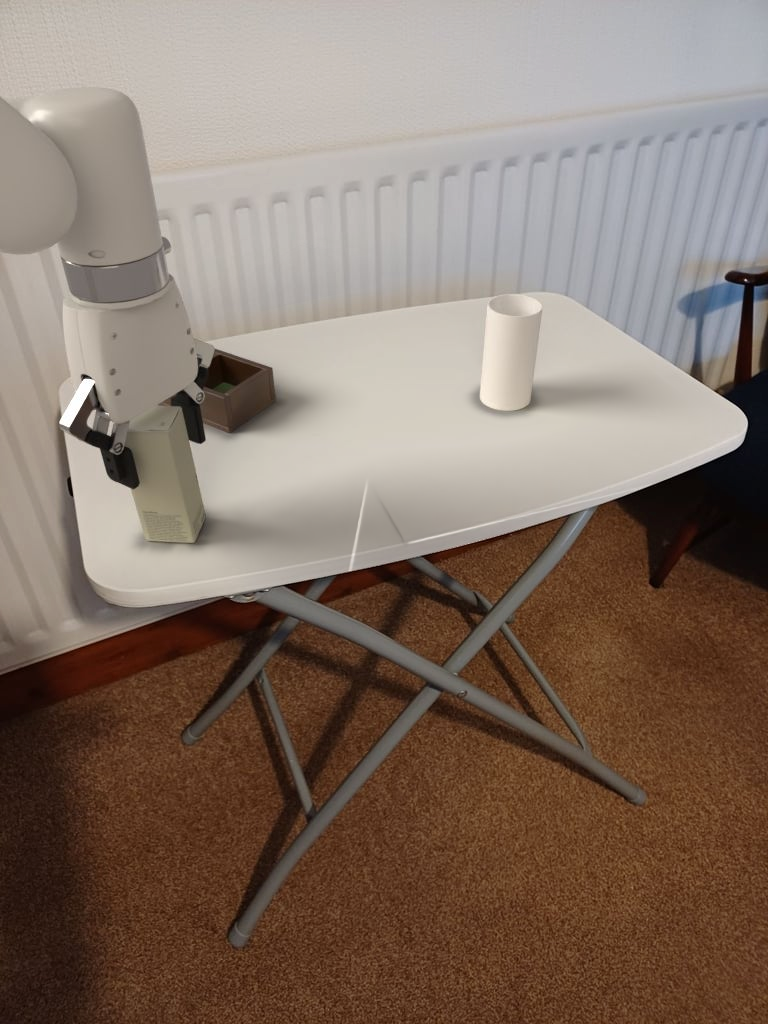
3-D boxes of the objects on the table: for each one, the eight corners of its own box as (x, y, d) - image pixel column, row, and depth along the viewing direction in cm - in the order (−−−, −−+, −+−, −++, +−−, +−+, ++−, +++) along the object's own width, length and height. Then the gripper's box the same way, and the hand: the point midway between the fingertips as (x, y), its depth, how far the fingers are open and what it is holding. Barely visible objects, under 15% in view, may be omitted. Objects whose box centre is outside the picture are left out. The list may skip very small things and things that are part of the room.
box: (207, 516, 78) (186, 404, 70) (194, 545, 74) (171, 431, 66) (155, 513, 78) (129, 402, 70) (140, 542, 75) (110, 428, 67)
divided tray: (229, 433, 90) (224, 398, 87) (131, 394, 96) (123, 361, 94) (276, 401, 95) (272, 367, 92) (180, 367, 102) (174, 334, 99)
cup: (493, 414, 93) (502, 320, 85) (471, 390, 97) (478, 298, 90) (539, 405, 94) (552, 311, 87) (516, 381, 99) (526, 290, 91)
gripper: (164, 229, 67) (196, 406, 79) (-12, 300, 56) (54, 495, 67) (230, 246, 64) (253, 428, 75) (57, 325, 53) (114, 526, 64)
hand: (159, 459), depth 71 cm, fingers open, 7 cm apart
